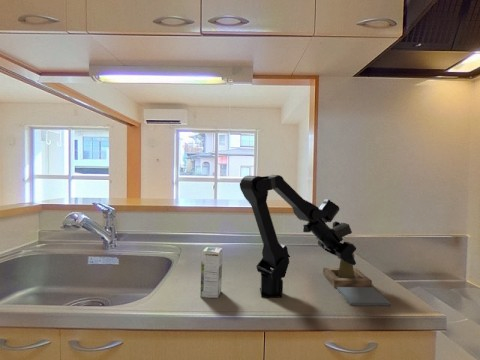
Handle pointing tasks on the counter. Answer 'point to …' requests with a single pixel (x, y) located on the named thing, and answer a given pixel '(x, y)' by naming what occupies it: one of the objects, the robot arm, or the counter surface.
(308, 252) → the counter surface
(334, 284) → the frame
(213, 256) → the syrup box
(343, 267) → the cork
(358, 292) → the blue gray mat
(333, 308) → the counter surface
